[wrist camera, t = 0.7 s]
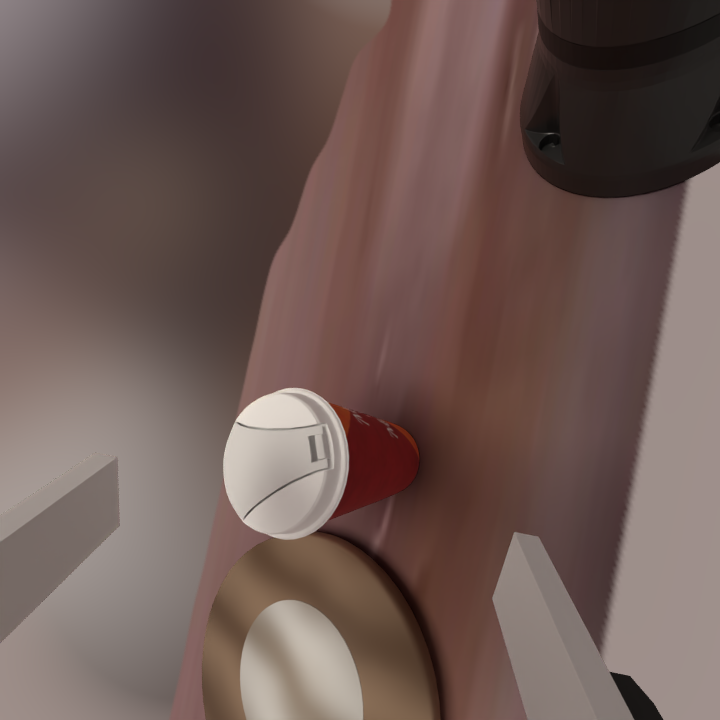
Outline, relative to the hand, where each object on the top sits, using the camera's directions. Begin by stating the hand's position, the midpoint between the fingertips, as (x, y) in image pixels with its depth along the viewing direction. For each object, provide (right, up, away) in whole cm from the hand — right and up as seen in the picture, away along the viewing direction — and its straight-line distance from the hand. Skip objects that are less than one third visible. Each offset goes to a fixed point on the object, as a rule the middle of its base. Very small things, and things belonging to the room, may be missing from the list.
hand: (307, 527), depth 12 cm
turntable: (-2, -18, +16) cm, 25 cm away
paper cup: (+4, -3, +18) cm, 19 cm away
